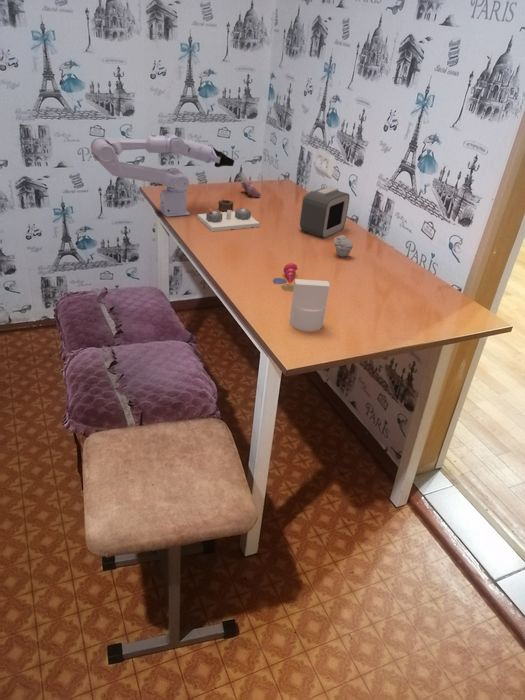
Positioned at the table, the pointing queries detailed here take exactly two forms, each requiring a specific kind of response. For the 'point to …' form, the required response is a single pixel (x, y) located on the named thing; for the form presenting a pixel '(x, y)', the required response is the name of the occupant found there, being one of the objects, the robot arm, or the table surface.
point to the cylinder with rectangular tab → (309, 304)
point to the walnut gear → (225, 205)
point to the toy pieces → (290, 273)
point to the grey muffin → (342, 245)
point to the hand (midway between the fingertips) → (229, 160)
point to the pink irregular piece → (250, 188)
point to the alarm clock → (324, 211)
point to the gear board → (228, 220)
